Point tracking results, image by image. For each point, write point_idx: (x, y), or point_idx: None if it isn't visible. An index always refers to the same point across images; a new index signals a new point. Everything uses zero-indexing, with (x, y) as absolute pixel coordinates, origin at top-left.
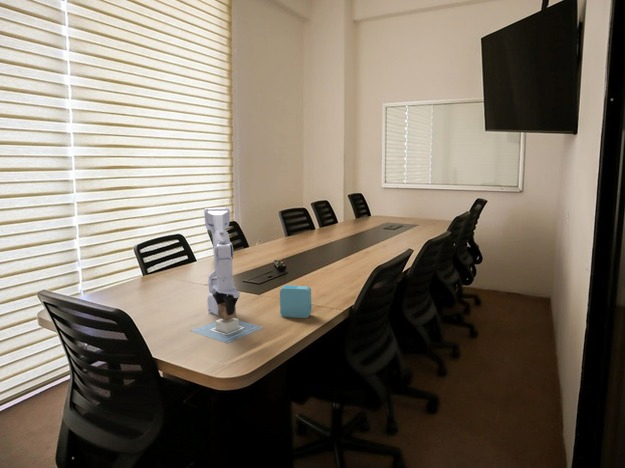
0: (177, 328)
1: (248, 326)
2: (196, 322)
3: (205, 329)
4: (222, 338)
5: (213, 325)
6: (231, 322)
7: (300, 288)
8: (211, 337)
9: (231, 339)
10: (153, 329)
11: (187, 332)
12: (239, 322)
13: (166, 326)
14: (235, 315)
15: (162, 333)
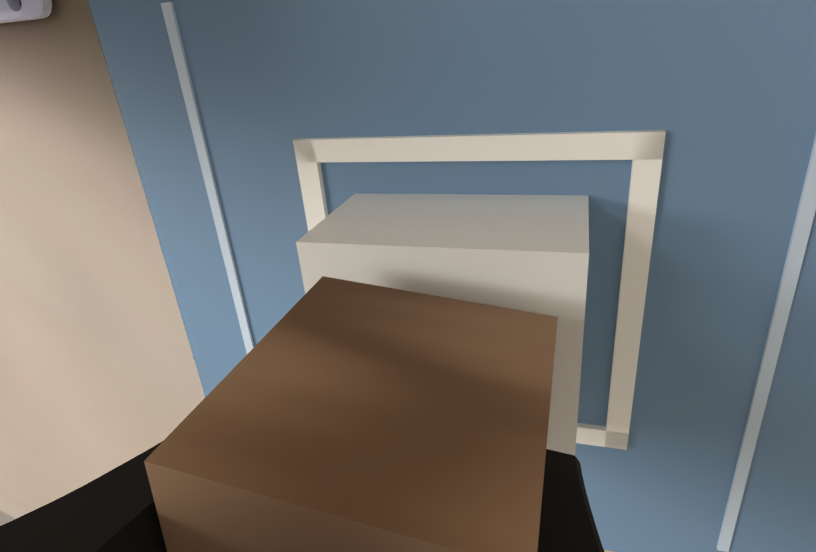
0: (84, 424)
1: (680, 35)
2: (28, 258)
3: None
4: (649, 516)
5: (247, 294)
6: (577, 399)
7: None
8: None
9: (780, 507)
10: (24, 492)
11: None
12: (398, 1)
13: (8, 427)
14: (555, 343)
15: None
